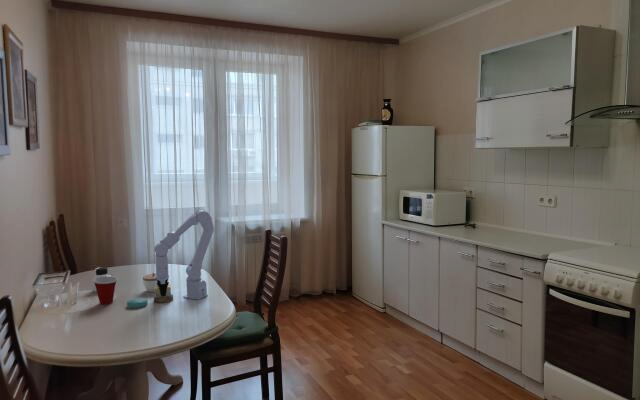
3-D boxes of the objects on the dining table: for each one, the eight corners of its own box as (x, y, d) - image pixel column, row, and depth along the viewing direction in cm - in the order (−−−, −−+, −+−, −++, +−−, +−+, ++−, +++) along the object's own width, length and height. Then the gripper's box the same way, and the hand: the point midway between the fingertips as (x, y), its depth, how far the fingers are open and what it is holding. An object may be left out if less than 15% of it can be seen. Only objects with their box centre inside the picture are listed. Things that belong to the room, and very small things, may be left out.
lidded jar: (151, 294, 242) (150, 276, 241) (139, 291, 249) (138, 273, 248) (169, 289, 251) (168, 272, 250) (157, 286, 257) (156, 269, 256)
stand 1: (151, 303, 228) (151, 299, 227) (137, 309, 219) (136, 305, 219) (137, 301, 231) (137, 297, 231) (123, 307, 223) (122, 302, 223)
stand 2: (177, 298, 235) (176, 294, 235) (163, 304, 227) (163, 300, 227) (163, 296, 239) (163, 292, 238) (149, 301, 231) (149, 297, 230)
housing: (170, 294, 236) (170, 284, 235) (171, 296, 232) (170, 286, 231) (155, 295, 233) (155, 286, 233) (155, 298, 229) (155, 288, 229)
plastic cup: (109, 307, 224) (108, 282, 222) (89, 305, 226) (88, 281, 225) (123, 299, 234) (122, 276, 233) (104, 298, 236) (102, 275, 235)
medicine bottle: (112, 287, 256) (111, 266, 254) (105, 291, 249) (103, 269, 247) (99, 287, 256) (98, 266, 255) (92, 291, 249) (90, 269, 248)
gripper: (153, 265, 236) (154, 291, 238) (153, 271, 223) (154, 299, 224) (168, 263, 239) (169, 289, 240) (169, 270, 225) (170, 298, 227)
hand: (163, 294), depth 232 cm, fingers closed on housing, 4 cm apart
